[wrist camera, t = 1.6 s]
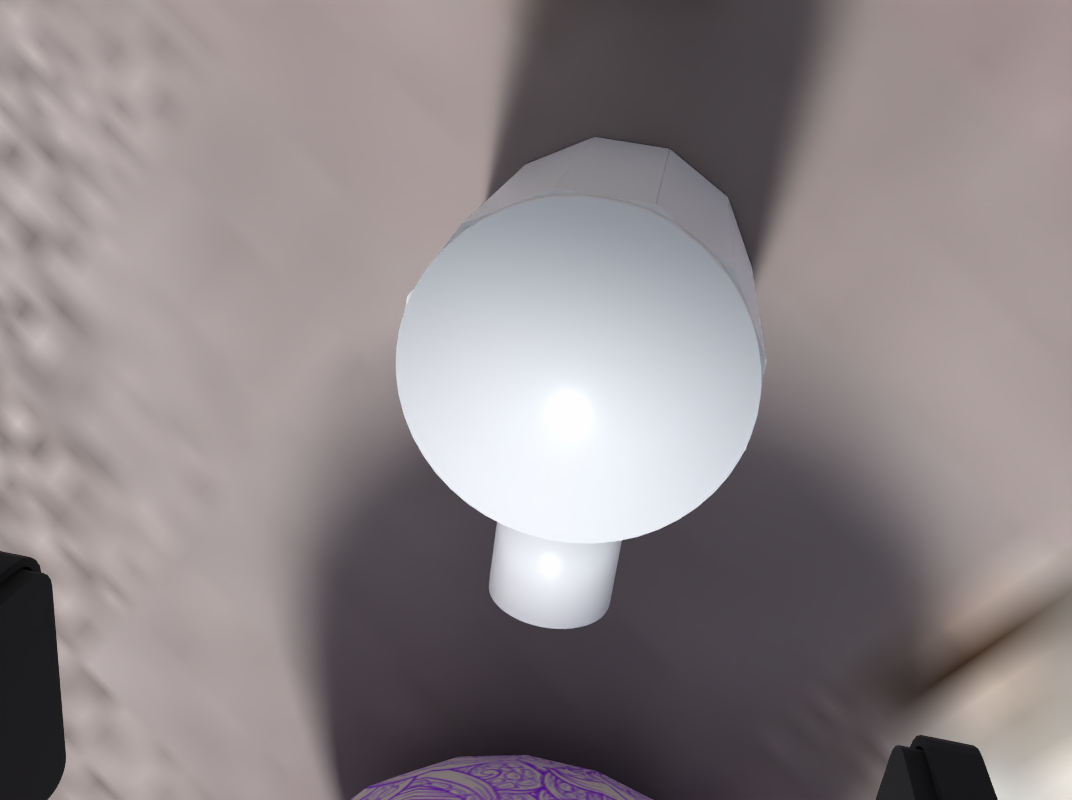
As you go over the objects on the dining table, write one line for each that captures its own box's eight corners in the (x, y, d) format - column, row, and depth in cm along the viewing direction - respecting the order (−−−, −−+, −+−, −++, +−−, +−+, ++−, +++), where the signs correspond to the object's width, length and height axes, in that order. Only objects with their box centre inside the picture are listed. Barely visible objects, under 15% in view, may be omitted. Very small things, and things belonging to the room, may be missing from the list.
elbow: (774, 165, 26) (801, 233, 18) (692, 534, 30) (687, 708, 23) (493, 121, 27) (411, 169, 19) (451, 487, 31) (372, 641, 23)
